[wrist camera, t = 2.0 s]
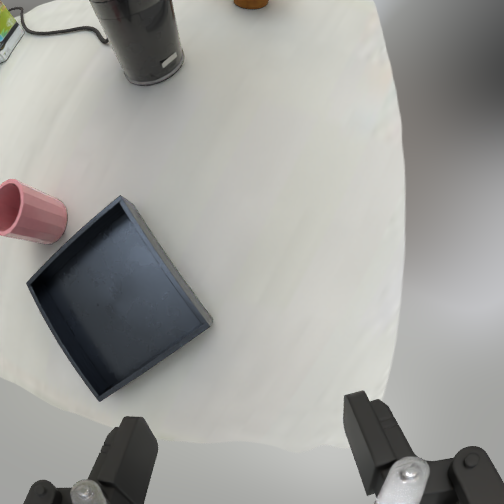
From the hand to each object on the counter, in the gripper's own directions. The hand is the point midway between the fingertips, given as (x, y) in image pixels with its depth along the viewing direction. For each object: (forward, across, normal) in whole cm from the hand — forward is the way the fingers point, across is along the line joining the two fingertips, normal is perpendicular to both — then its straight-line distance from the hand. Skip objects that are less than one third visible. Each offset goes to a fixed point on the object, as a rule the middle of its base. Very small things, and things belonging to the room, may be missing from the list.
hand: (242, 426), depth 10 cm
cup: (+25, +26, -10) cm, 37 cm away
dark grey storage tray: (+23, +16, +2) cm, 28 cm away
